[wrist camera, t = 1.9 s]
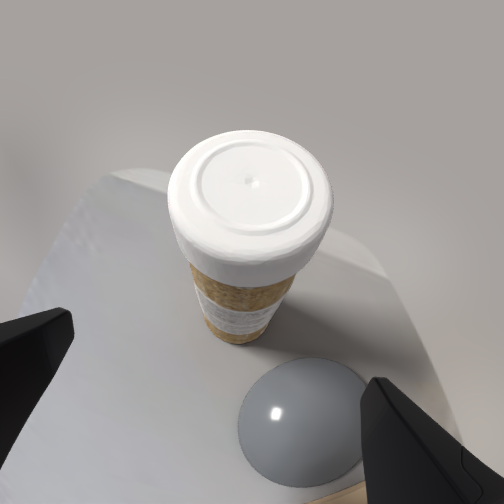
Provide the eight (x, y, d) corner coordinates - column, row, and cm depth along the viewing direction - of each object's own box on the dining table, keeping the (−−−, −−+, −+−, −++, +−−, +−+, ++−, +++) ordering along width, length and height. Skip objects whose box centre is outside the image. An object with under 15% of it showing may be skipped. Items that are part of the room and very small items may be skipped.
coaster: (373, 468, 15) (377, 469, 15) (243, 492, 14) (243, 495, 14) (363, 350, 19) (367, 349, 18) (232, 364, 18) (232, 364, 18)
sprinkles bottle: (225, 268, 21) (226, 107, 9) (283, 300, 20) (358, 165, 8) (190, 323, 19) (129, 205, 7) (250, 358, 18) (294, 298, 6)
